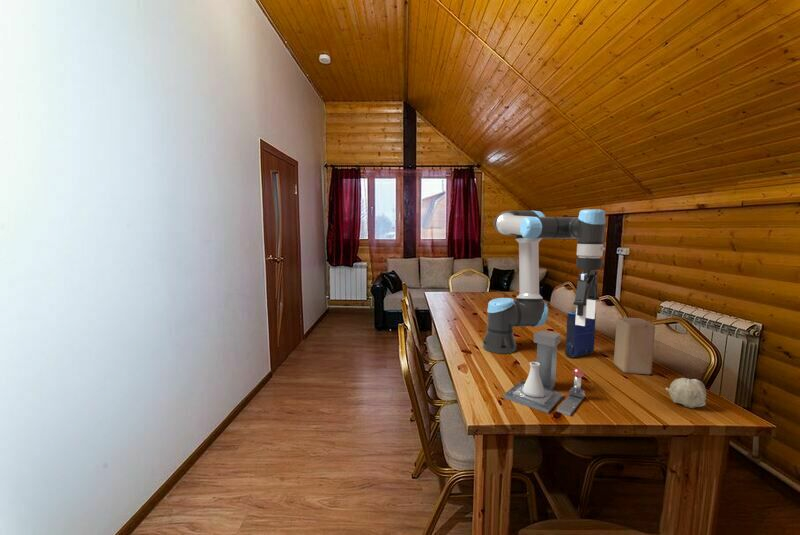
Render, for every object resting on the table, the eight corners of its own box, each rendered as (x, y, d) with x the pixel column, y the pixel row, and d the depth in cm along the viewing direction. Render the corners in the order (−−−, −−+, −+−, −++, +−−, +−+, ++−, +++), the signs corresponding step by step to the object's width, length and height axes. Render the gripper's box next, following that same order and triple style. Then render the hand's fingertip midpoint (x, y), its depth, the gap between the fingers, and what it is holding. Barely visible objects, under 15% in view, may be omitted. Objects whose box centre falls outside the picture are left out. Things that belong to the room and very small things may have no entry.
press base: (503, 397, 110) (505, 341, 108) (528, 378, 125) (530, 328, 123) (566, 420, 97) (570, 356, 95) (585, 395, 112) (589, 339, 110)
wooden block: (652, 375, 128) (656, 324, 126) (623, 373, 130) (627, 322, 128) (639, 365, 138) (643, 317, 136) (612, 363, 140) (615, 316, 138)
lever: (569, 393, 110) (570, 368, 109) (572, 390, 113) (573, 364, 112) (581, 397, 108) (582, 371, 107) (584, 393, 110) (585, 367, 109)
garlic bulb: (701, 413, 105) (719, 387, 103) (691, 417, 101) (710, 390, 98) (668, 393, 113) (684, 368, 110) (658, 395, 108) (674, 369, 105)
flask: (546, 399, 106) (547, 369, 105) (521, 395, 108) (523, 366, 107) (544, 389, 112) (546, 361, 111) (521, 386, 115) (523, 358, 114)
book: (572, 359, 144) (575, 313, 142) (562, 355, 149) (564, 311, 147) (595, 354, 150) (598, 310, 148) (584, 350, 155) (586, 308, 153)
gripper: (592, 259, 99) (588, 331, 101) (610, 256, 117) (606, 317, 119) (565, 258, 104) (561, 326, 106) (586, 255, 122) (583, 313, 124)
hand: (585, 321), depth 113 cm, fingers open, 12 cm apart
